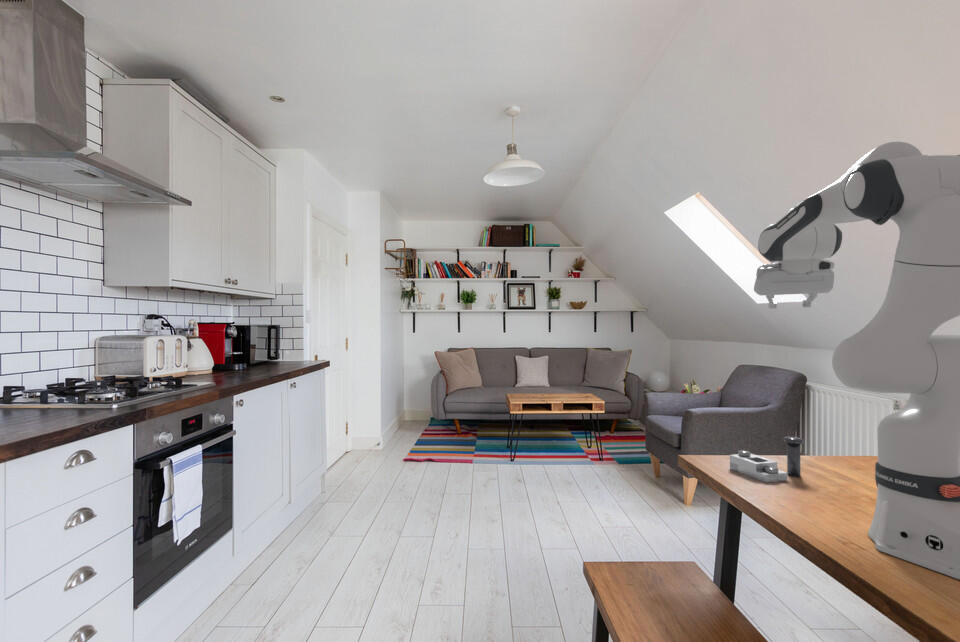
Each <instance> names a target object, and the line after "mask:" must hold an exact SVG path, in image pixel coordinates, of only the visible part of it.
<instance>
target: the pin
mask: <svg viewBox="0 0 960 642" xmlns="http://www.w3.org/2000/svg"><path fill="white" fill-rule="evenodd" d="M783 442H784V443H786V465H787V467H786V469H787V470H786V471H787V472H786V473H787V476H789V477H794V478H801V474H802V473H801V470H802V469H801V445H803V444H804V439H803V438H801V437H796V436H783Z"/></svg>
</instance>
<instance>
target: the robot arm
mask: <svg viewBox="0 0 960 642" xmlns="http://www.w3.org/2000/svg"><path fill="white" fill-rule="evenodd" d="M865 220H870V221H871V222H873V224H875V225H878V226H882V225H885V224H886V223H887V222H888V221H889V220H891V221H893V222H894V223H895V224H896V225H897V226H898V229H899V238H898V241H897V246H896V249H895V254H894V261H893V265H892V266H893V267H892V269H891V275H890V279H889V284H888V288H887V292H886V295H885V298H884V300H883V303H882V304H881V306H880V308H879V310H878V311H877V313H876V314H875V315H874V316H873V317H872V318H871V320H870V321H869V322H868V323H867V324H866V325H865V326H864V327H863V328H862V329H860V330H859V331H857V332H856V333H854V334H853V335H851V336H850V337H848V338H846V339H843V340H842V341H841V342H840V343H839V344H837V346H836V348H835V349H834V352H833V354H832V360H831V364H832V368H833V372H834V374H835V376H836V377H837V379H838V380H839V381H840V382H841V383H842V385H844V386H846V387H847V388H850V389H855V390H860V391H864V392H870V393H878V394H909V398H908V400H907V401H906V403H905V405H904V406H903V407H902V408H900V409H898V411H895V412H893V413H891V414H888V415H886V416H884V417H883V418H882V419H881V420H880V422H879V423H878V426H877V461H876V462H875V465H874V477H875V478H874V479H875V484H876V485H875V486H876V488H877V492H876V493H877V494H876V500H875V501H876V502H875V508H874V513H873V517H872V521H871V523H870V527H869V529H868V531H867V534H868V537H869V538H870V539H871V540H872V541H873V543H875V545H874V547H875V549H876V550H878V551H879V552H883V553H885V554H888V555H891V556H892V557H896V558H899V559H902V560H903V561H907V562H910V563H912V564H915V565H918V566H920V567H923V568H926V569H929V570H932V571H935V572H937V573H940V574H943V575H946V576H949V577H952V578H954V579H957V580H960V334H933V333H934V332H935V331H936V330H937V329H938V328H939V327H941V326H942V325H943V324H945V323H946V322H949V321H950V320H952V319H955V318H957V317H959V316H960V154H958V155H950V154H949V155H947V154H946V155H945V154H943V155H942V154H941V155H935V154H934V155H927V154H923V153H922V151H921V150H920V149H918V147H916V145H914V144H911V143H909V142H905V141H890V142H885V143H883V144H880V145H878V146H877V147H875V148H873V149H872V150H870V151H869V152H868V153H866V154H865V155H863V156H862V157H861V158H860V159H859V160H857V161H856V162H855V164H853V165H852V166H851V167H850V168H849V169H848V170H847V171H846V172H845V173H844V174H843V175H842V176H841V177H840V178H839V179H837V180H835V181H834V182H833V183H831V184H830V185H828V186H826V187H824V188H823V189H822V190H820V191H818V192H816V193H814V194H811V195H810V196H808V197H806V198H805V199H803V200H802V201H800V202H799V203H798V204H797V205H796V206H794V207H792V208H791V209H788V212H787V213H786V214H785V215H784V216H783V217H782V218H781V219H779V220H778V221H776V222H775V223H771V224H769V225H768V226H766V228H764V230H763V231H762V232H761V234H760V235H759V238H758V242H757V243H758V244H757V247H758V251H759V254H760V255H761V256H762V257H764V258H765V259H766V260H767V261H769V262H771V263H770V264H769V263H764V264H762V265H761V266H759V267H758V268H757V269H756V275H755V276H756V278H755V281H754V286H753V291H754V292H755V293H756V294H757V295H758V296H765V297H766V299H767V301H768V308H769V309H771V310H773V309H777V307H778V303H777V302H776V301H774V300H773V299H774V298H775V296H779V295H780V296H781V295H782V296H783V295H806V294H807V295H808V296H807V298H806V300H805V299H804V300H803V301H802V307H804V308H811V307H812V303H813V301H814V300H815V299H816V298H817V297H818V294H825V293H827V294H828V293H830V292H831V291H832V290H833V289H834V283H835V273H834V271H833V270H834V267H835V262H834V261H832V260H829V259H830V258H832V257H833V256H834V255H835V254H836V253H837V252H838V251H839V250H840V248H841V246H842V242H843V241H842V240H843V232H842V230H841V229H840V228H839V227H838V226H837V225H836V224H848V223H855V222H862V221H865ZM827 258H829V259H827ZM775 262H778V263H775Z"/></svg>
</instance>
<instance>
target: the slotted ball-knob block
mask: <svg viewBox="0 0 960 642" xmlns="http://www.w3.org/2000/svg"><path fill="white" fill-rule="evenodd" d="M729 469H730V470H731V471H734V472H737V473H740V474H741V475H742V474H743V475H744V476H748V477H750V478H752V479H755V480H758V481H760V482H763V483H765V484H767V483H777V482H783V481H784V482H786V481H788V475H787V472H786V471H783V470H780V469H779V468H778V461H775V460H773V459H769V458H766V457H763V456H761V455H758V454H754V453H751V451H749V450H738V451H737V454H735V453H734V454H729Z"/></svg>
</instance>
